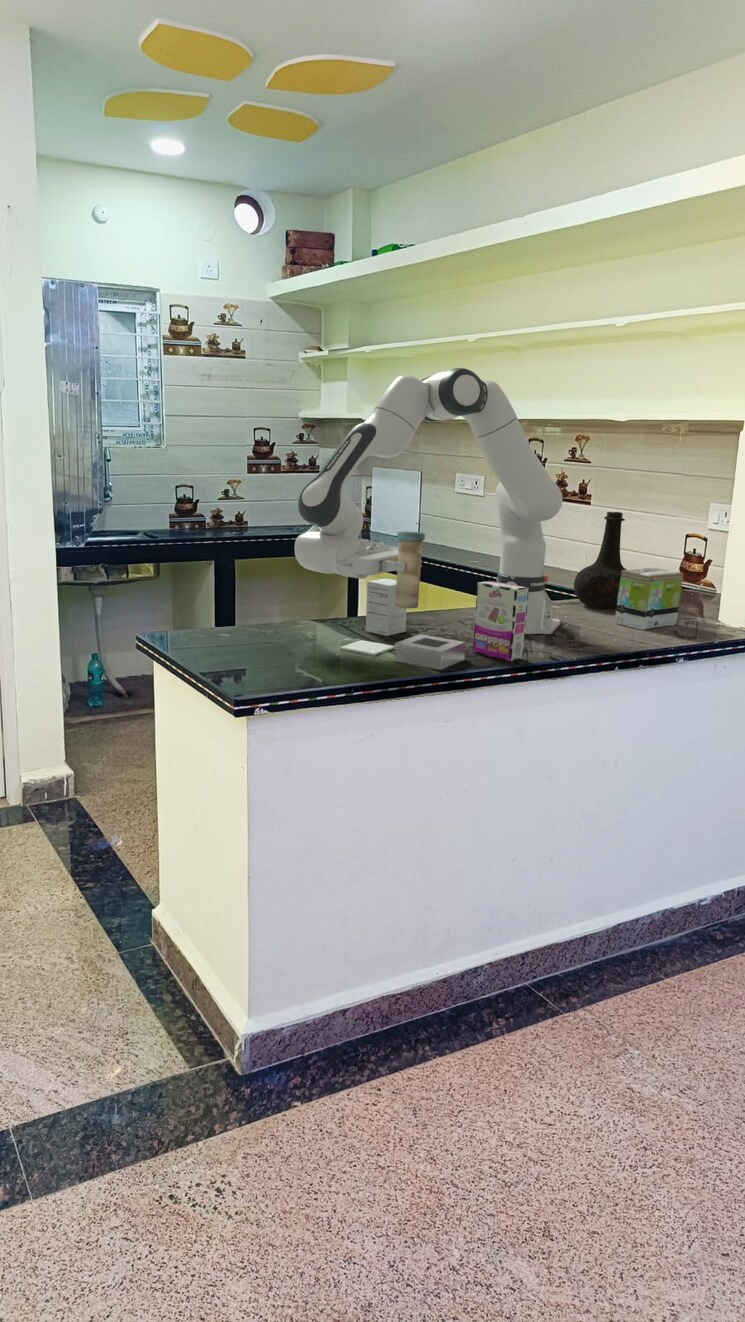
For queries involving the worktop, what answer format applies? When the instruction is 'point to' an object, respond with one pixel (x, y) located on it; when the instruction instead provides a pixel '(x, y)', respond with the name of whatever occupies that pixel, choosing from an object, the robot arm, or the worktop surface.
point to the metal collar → (429, 651)
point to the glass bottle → (603, 569)
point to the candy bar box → (500, 620)
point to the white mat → (367, 647)
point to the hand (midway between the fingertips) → (412, 565)
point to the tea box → (648, 598)
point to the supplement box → (384, 608)
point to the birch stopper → (409, 569)
